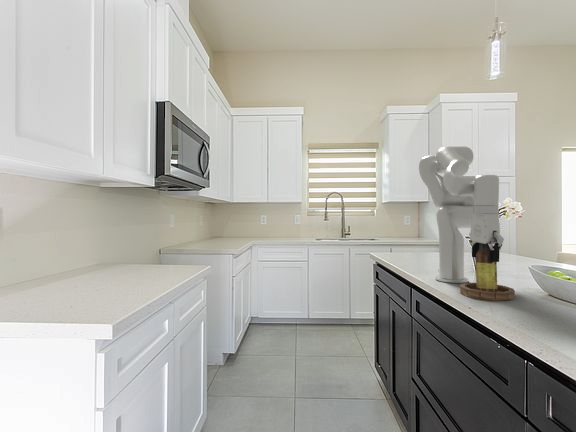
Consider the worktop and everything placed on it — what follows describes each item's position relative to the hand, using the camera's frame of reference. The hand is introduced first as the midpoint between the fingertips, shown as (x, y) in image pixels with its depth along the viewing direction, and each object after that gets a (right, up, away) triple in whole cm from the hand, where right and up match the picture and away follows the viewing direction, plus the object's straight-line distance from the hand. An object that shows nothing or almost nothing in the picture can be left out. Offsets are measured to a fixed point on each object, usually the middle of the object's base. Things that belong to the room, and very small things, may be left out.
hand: (484, 259), depth 114 cm
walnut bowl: (0, -12, -1) cm, 12 cm away
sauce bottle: (0, -12, -1) cm, 12 cm away
